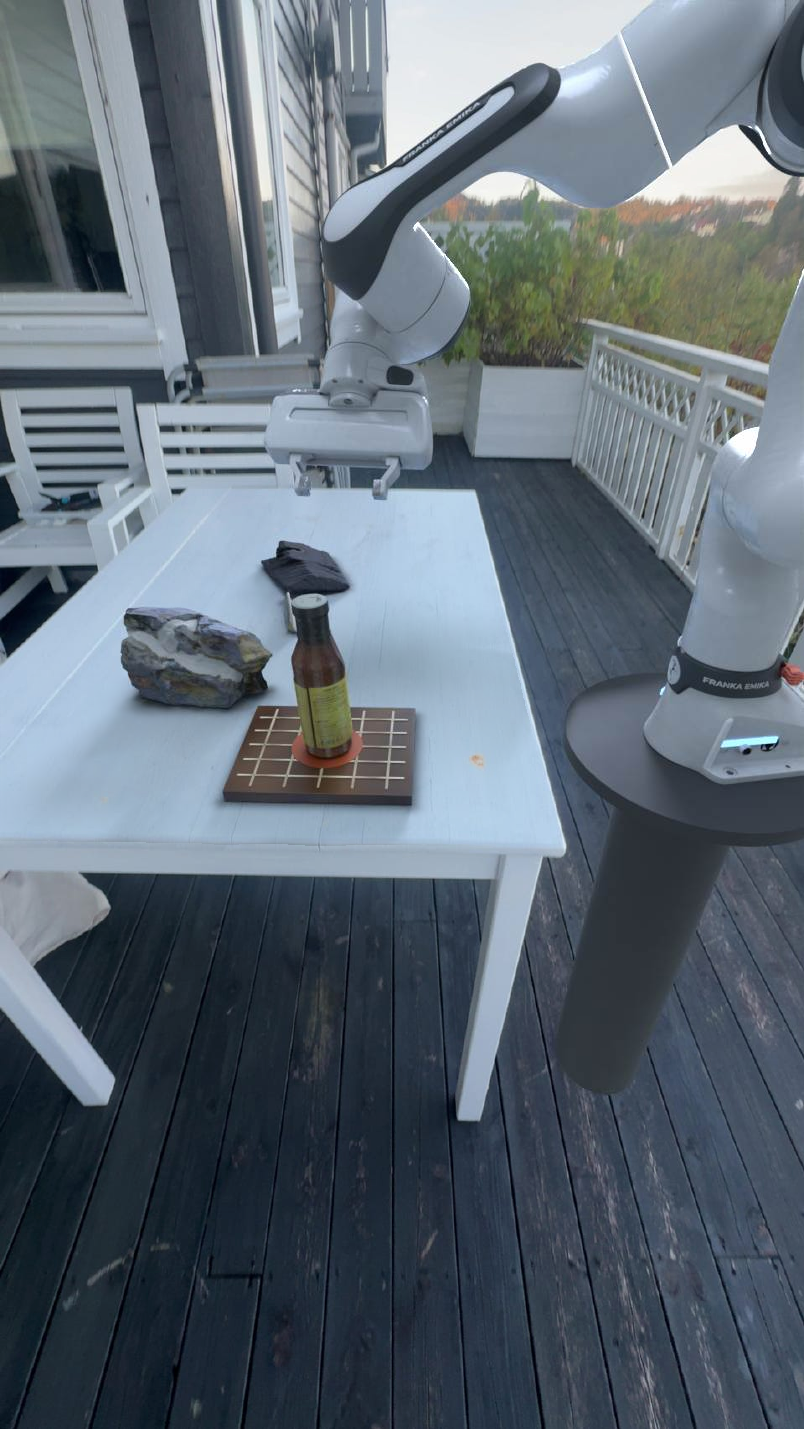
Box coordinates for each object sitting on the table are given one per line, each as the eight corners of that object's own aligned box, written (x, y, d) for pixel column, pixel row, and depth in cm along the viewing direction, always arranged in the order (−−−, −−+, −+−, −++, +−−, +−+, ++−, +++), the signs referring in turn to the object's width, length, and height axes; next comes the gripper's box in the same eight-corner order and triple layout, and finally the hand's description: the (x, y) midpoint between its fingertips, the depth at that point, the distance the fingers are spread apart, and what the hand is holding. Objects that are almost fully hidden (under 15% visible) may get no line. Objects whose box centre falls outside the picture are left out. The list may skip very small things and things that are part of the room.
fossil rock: (274, 705, 96) (278, 624, 87) (247, 744, 89) (249, 661, 79) (152, 667, 98) (144, 583, 88) (117, 703, 91) (103, 616, 81)
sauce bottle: (361, 737, 80) (353, 594, 69) (338, 766, 76) (325, 617, 64) (317, 726, 83) (303, 585, 71) (292, 752, 78) (272, 606, 67)
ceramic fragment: (283, 601, 119) (281, 582, 117) (310, 599, 120) (309, 580, 117) (286, 636, 108) (283, 616, 106) (316, 633, 109) (314, 613, 106)
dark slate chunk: (277, 602, 118) (274, 579, 116) (259, 563, 136) (256, 541, 133) (355, 591, 123) (354, 568, 120) (328, 554, 140) (326, 533, 137)
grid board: (415, 716, 87) (415, 707, 86) (411, 805, 72) (411, 795, 71) (259, 714, 88) (257, 704, 87) (224, 801, 73) (221, 790, 72)
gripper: (266, 371, 74) (246, 477, 72) (436, 373, 71) (421, 485, 69) (284, 406, 81) (266, 505, 78) (441, 410, 77) (427, 513, 75)
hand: (340, 496), depth 73 cm, fingers open, 8 cm apart
